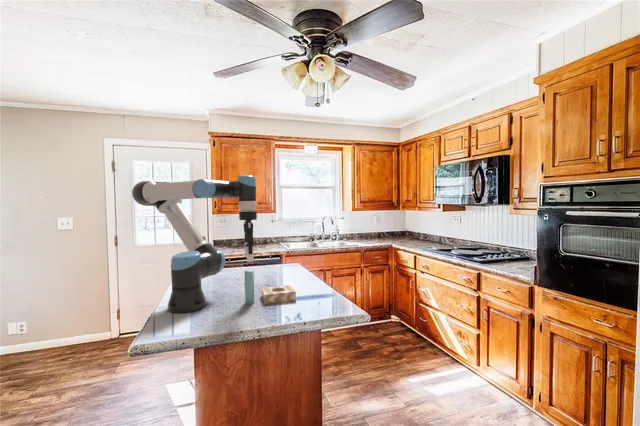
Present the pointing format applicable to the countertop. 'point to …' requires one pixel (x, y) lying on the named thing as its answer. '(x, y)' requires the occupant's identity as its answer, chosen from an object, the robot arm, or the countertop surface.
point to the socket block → (278, 294)
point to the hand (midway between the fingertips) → (249, 259)
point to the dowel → (249, 287)
